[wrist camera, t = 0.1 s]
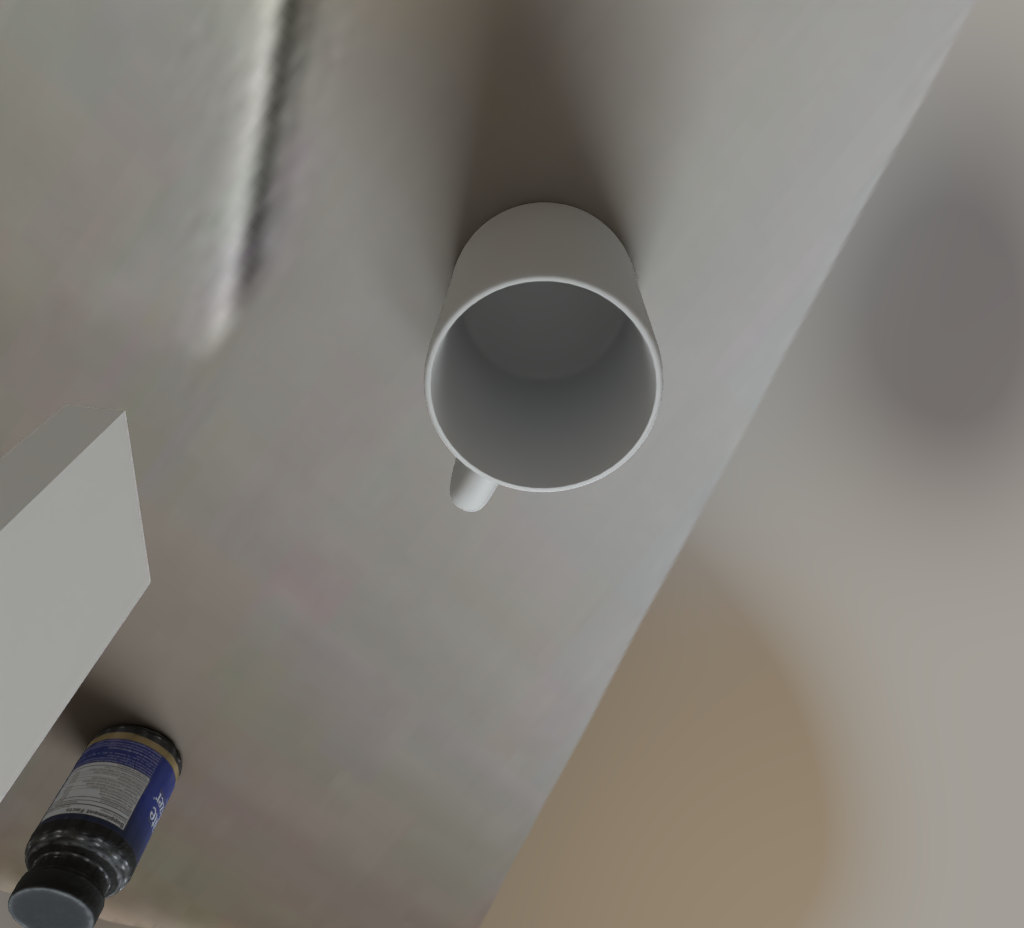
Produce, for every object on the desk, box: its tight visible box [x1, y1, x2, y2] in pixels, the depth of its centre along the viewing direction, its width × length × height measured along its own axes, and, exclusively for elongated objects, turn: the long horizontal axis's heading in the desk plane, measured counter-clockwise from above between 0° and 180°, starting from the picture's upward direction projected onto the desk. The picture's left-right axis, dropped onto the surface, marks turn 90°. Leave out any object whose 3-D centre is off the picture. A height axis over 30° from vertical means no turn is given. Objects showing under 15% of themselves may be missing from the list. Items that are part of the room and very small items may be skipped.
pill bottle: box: [8, 725, 182, 928], centre depth 49 cm, size 6×6×11 cm
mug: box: [424, 202, 663, 512], centre depth 34 cm, size 12×8×11 cm
